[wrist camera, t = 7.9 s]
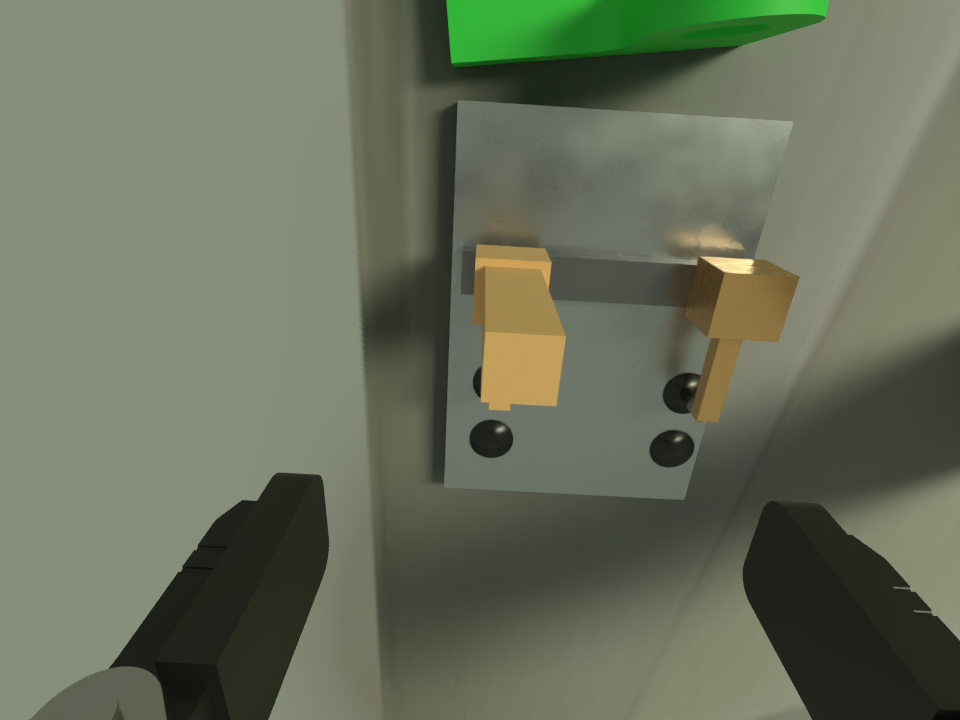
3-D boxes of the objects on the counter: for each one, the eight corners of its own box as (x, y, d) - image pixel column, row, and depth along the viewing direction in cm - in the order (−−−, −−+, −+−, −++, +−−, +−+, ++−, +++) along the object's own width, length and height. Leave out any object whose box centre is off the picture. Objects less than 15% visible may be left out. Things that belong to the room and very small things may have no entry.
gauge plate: (778, 121, 22) (851, 121, 18) (677, 486, 31) (709, 548, 26) (459, 101, 22) (452, 95, 18) (445, 474, 31) (438, 534, 26)
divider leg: (542, 243, 23) (582, 327, 14) (526, 393, 27) (548, 544, 17) (476, 239, 23) (471, 320, 14) (468, 389, 27) (459, 539, 17)
